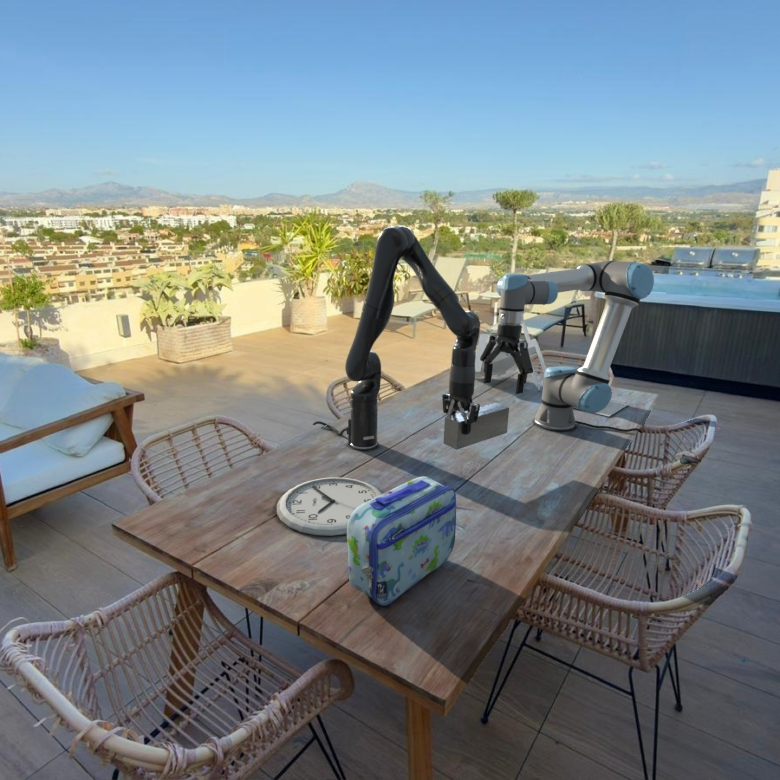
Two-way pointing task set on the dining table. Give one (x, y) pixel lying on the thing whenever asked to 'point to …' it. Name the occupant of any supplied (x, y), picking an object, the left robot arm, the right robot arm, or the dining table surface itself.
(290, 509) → the wall clock
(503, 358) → the white plastic object
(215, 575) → the dining table surface
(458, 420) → the box
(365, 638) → the dining table surface
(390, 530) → the lunch box
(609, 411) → the invitation card
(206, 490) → the dining table surface
